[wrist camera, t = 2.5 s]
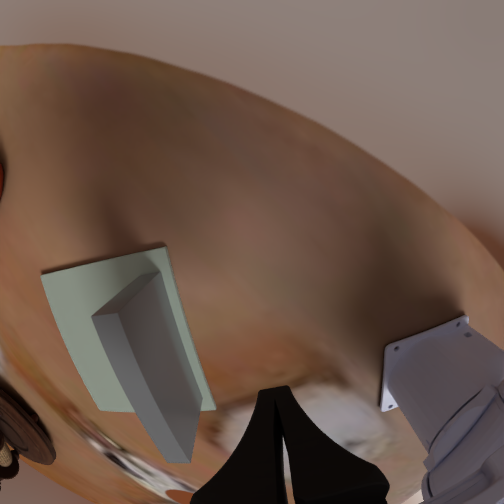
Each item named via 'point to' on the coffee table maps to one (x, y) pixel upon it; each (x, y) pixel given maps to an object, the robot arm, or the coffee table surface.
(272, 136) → the coffee table surface
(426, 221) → the coffee table surface
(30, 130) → the coffee table surface
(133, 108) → the coffee table surface
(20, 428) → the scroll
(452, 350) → the robot arm
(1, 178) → the fruit
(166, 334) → the slate tile
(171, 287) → the felt mat
